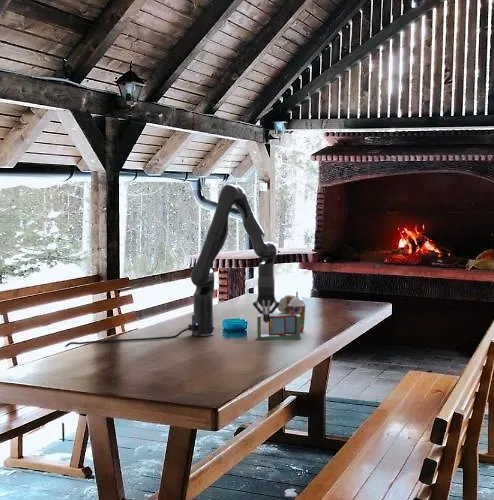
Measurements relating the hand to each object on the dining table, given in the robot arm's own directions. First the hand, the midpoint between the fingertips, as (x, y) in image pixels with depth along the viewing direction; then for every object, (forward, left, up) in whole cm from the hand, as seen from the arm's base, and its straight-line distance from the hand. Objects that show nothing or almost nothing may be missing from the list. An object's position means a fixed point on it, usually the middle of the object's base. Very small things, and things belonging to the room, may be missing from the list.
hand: (266, 322), depth 340 cm
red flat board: (+5, -2, -7) cm, 9 cm away
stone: (+59, +55, -9) cm, 81 cm away
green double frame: (+7, 0, -9) cm, 11 cm away
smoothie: (+24, +7, -9) cm, 27 cm away
